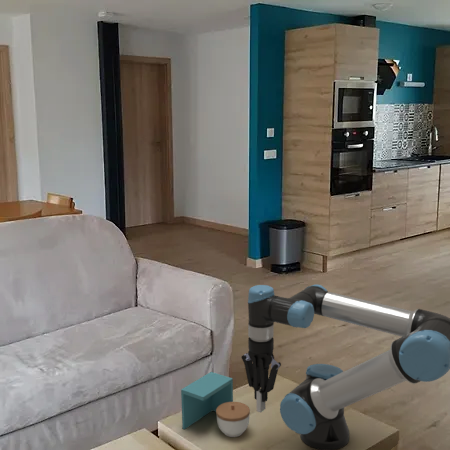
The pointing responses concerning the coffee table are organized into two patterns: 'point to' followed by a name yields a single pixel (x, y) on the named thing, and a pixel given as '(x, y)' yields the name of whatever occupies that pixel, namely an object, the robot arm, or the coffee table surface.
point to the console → (205, 397)
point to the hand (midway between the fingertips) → (261, 409)
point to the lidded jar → (233, 418)
